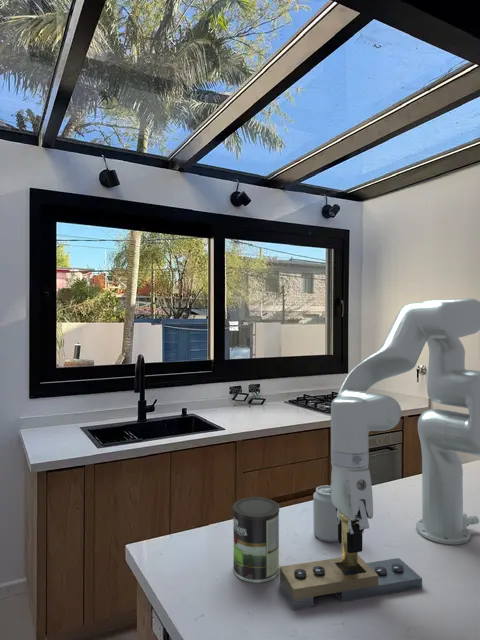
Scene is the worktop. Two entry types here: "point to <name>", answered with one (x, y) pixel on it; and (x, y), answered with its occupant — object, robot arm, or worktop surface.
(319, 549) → the worktop surface
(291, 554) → the worktop surface
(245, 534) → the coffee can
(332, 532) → the can
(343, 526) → the pin
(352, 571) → the peg hole board
